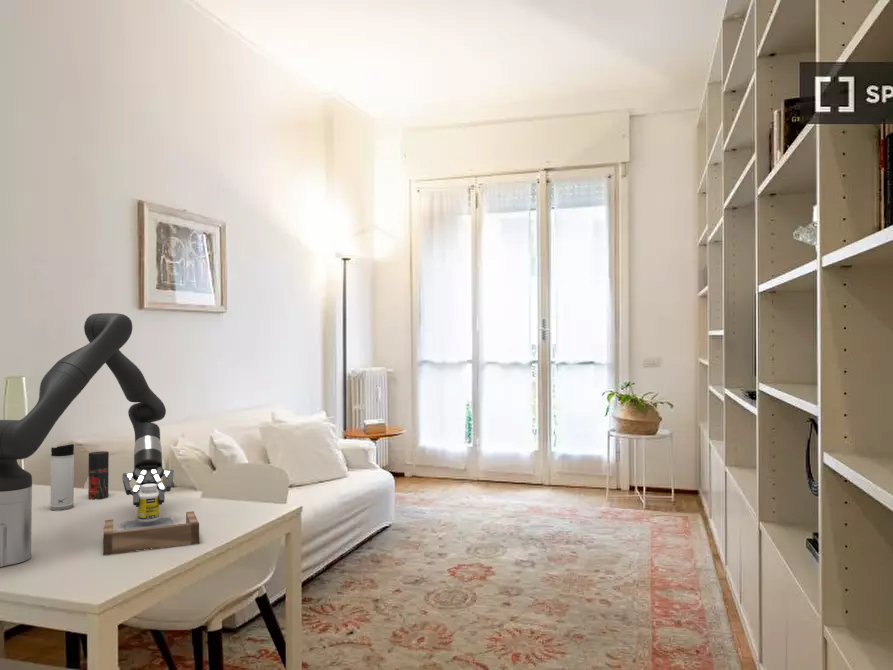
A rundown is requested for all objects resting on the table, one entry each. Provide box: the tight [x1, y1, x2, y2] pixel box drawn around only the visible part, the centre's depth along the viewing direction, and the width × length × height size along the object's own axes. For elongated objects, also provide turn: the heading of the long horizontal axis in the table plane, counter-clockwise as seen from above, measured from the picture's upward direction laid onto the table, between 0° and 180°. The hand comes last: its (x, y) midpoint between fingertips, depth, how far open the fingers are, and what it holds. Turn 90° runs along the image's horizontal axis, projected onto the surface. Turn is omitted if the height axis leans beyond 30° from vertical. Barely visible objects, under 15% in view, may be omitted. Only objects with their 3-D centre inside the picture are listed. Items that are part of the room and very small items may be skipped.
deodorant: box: [87, 450, 110, 501], centre depth 223 cm, size 6×6×15 cm
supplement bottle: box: [137, 484, 160, 522], centre depth 188 cm, size 5×5×10 cm
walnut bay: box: [102, 510, 200, 556], centre depth 173 cm, size 14×22×5 cm, turn 116°
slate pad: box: [124, 516, 174, 530], centre depth 188 cm, size 12×12×1 cm
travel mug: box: [50, 443, 75, 511], centre depth 208 cm, size 6×7×20 cm
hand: (149, 504), depth 187 cm, fingers closed on supplement bottle, 5 cm apart
